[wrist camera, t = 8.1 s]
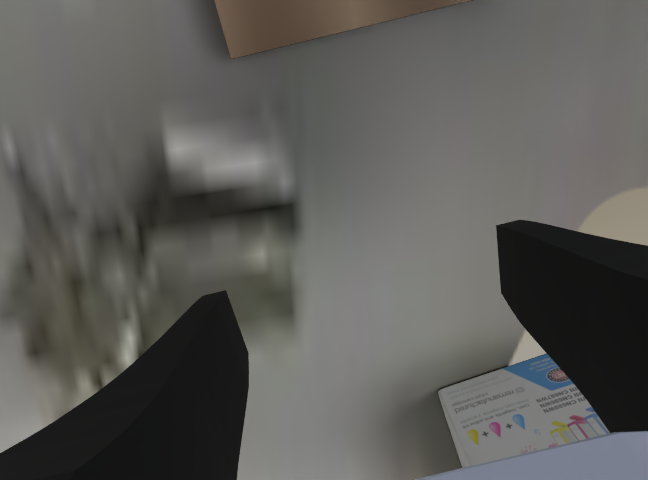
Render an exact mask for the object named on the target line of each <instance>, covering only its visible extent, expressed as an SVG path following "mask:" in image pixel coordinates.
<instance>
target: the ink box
mask: <svg viewBox="0 0 648 480" xmlns="http://www.w3.org/2000/svg"><path fill="white" fill-rule="evenodd" d="M438 394H439V398H440V401H441V405H442V408H443V411H444V414H445V417H446V421H447V423H448V426H449V429H450V432H451V435H452V438H453V441H454V444H455V447H456V450H457V453H458V456H459V459H460V463H461V465H462V468H464V467H468V466H473V465H477V464H481V463H486V462H490V461H494V460H498V459H503V458H507V457H511V456H515V455H520V454H524V453H528V452H532V451H537V450H541V449H545V448H550V447H554V446H558V445H562V444H567V443H571V442H575V441H579V440H584V439H588V438H592V437H596V436H601V435H605V434H609V433H610V432H609V431H608V429H607V428H606V426H605V425H604V424H603V422H602V421H601V419H600V418H599V416H598V415H597V414H596V412H595V411H594V409H593V408H592V407H591V405H590V404H589V402H588V401H587V400H586V398H585V397H584V396H583V395H582V393H581V392H580V391H579V390H578V388H577V387H576V386H575V385H574V384H573V382H572V381H571V380H570V379H569V378H568V377H567V376H566V374H565V373H564V372H563V371H562V370H561V369H560V368H559V367H558V365H557V364H556V363H555V362H554V361H553V360H552V359H551V357H550V356H549V355H548V354H544V355H541V356H538V357H535V358H532V359H529V360H526V361H523V362H520V363H517V364H514V365H511V366H508V367H505V368H502V369H499V370H496V371H493V372H490V373H487V374H484V375H481V376H478V377H475V378H472V379H469V380H466V381H463V382H460V383H457V384H454V385H451V386H449V387H446V388H443V389H441V390H439V391H438Z"/></svg>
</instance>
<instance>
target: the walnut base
mask: <svg viewBox="0 0 648 480" xmlns="http://www.w3.org/2000/svg"><path fill="white" fill-rule="evenodd" d="M214 1H215V4H216V8H217V11H218V15H219V18H220V22H221V25H222V29H223V32H224V36H225V39H226V43H227V46H228V50H229V53H230V57H231V59H234V58H239V57H243V56H247V55H251V54H255V53H259V52H263V51H267V50H271V49H275V48H279V47H284V46H288V45H292V44H296V43H300V42H304V41H308V40H312V39H316V38H320V37H324V36H328V35H333V34H337V33H341V32H345V31H349V30H353V29H357V28H361V27H365V26H369V25H373V24H378V23H382V22H386V21H390V20H394V19H398V18H402V17H406V16H410V15H414V14H418V13H422V12H427V11H431V10H435V9H439V8H443V7H447V6H451V5H455V4H459V3H463V2H467V1H471V0H214Z"/></svg>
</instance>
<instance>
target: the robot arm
mask: <svg viewBox="0 0 648 480" xmlns="http://www.w3.org/2000/svg"><path fill="white" fill-rule="evenodd" d="M496 229H497V242H498V256H499V269H500V283H501V293H502V295H503V297H504V298H505V300H506V301H507V303H508V305H509V306H510V308H511V310H512V311H513V313H514V314H515V316H516V317H517V319H518V320H519V322H520V323H521V324H522V325H523V326H524V328H525V329H526V330H527V331H528V332H529V333H530V335H531V336H532V337H533V338H534V339H535V340H536V342H538V344H539V345H540V346H541V347H542V348H543V349H544V351H545V352H546V353H547V354H548V355H549V356H550V357H551V359H552V360H553V361H554V362H555V363H556V364H557V365H558V367H559V368H560V369H561V370H562V371H563V372H564V373H565V374H566V376H567V377H568V378H569V379H570V380H571V381H572V382H573V384H574V385H575V386H576V387H577V388H578V390H579V391H580V392H581V393H582V395H583V396H584V397H585V398H586V400H587V401H588V402H589V404H590V405H591V407H592V408H593V409H594V411H595V412H596V414H597V415H598V416H599V418H600V419H601V421H602V422H603V424H604V425H605V426H606V428H607V429H608V431H609V432H610V433H609V434H605V435H601V436H596V437H592V438H588V439H584V440H579V441H575V442H571V443H567V444H562V445H558V446H554V447H550V448H545V449H541V450H537V451H532V452H528V453H524V454H520V455H515V456H511V457H507V458H503V459H498V460H494V461H490V462H486V463H481V464H477V465H473V466H468V467H464V468H460V469H456V470H451V471H447V472H443V473H439V474H434V475H430V476H426V477H422V478H417V479H413V480H648V246H645V245H640V244H634V243H629V242H624V241H618V240H613V239H608V238H604V237H599V236H594V235H590V234H585V233H581V232H577V231H573V230H568V229H564V228H560V227H556V226H551V225H547V224H542V223H538V222H532V221H525V220H517V221H513V222H509V223H505V224H500V225H496ZM248 387H249V361H248V351H247V348H246V345H245V342H244V340H243V337H242V334H241V331H240V328H239V326H238V323H237V320H236V317H235V315H234V312H233V309H232V306H231V303H230V301H229V298H228V295H227V292H226V290H225V291H221V292H217V293H213V294H208V295H204V296H202V297H201V298H200V299H198V300H197V301H196V302H195V303H194V304H193V305H192V306H191V307H190V308H189V309H188V310H187V311H186V312H185V313H184V314H183V315H182V316H181V317H180V318H179V319H178V320H177V321H176V322H175V323H174V324H173V325H172V327H171V328H170V329H169V330H168V331H167V332H166V333H165V334H164V335H163V336H162V337H161V338H160V339H159V340H158V341H156V342H155V343H154V344H153V345H152V346H151V347H150V348H149V349H148V350H147V351H146V352H145V353H144V354H143V355H142V356H140V357H139V358H138V359H137V360H136V361H135V362H134V363H133V364H132V365H131V366H129V367H128V368H127V369H126V370H125V371H124V372H122V373H121V374H120V375H119V376H118V377H116V378H115V379H114V380H112V381H111V382H110V383H109V384H107V385H106V386H105V387H103V388H102V389H101V390H100V391H98V392H97V393H96V394H94V395H93V396H91V397H90V398H89V399H87V400H86V401H84V402H83V403H81V404H80V405H78V406H77V407H75V408H74V409H72V410H71V411H69V412H68V413H66V414H65V415H63V416H62V417H60V418H59V419H58V420H56V421H55V422H53V423H51V424H50V425H48V426H47V427H45V428H43V429H42V430H40V431H38V432H37V433H35V434H33V435H32V436H30V437H28V438H27V439H25V440H23V441H21V442H19V443H18V444H16V445H14V446H12V447H11V448H9V449H7V450H5V451H4V452H2V453H0V480H237V470H238V461H239V454H240V447H241V439H242V432H243V425H244V418H245V411H246V403H247V396H248Z"/></svg>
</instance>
